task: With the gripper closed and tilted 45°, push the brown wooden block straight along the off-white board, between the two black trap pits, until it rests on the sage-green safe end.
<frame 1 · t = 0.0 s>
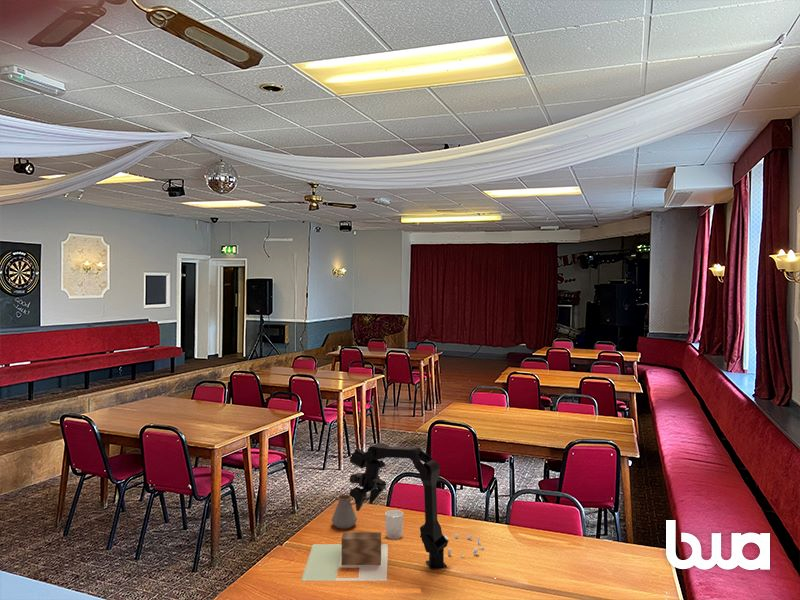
hand: (364, 507, 245), 15 cm above the table, tool pointing down, fingers open, 9 cm apart
trap board: (347, 565, 227), on the table
brown wooden block: (361, 561, 227), point 1 cm above the table, touching trap board
coffee pot: (354, 526, 263), on the table
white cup: (394, 536, 253), on the table
game piece set: (459, 548, 243), on the table
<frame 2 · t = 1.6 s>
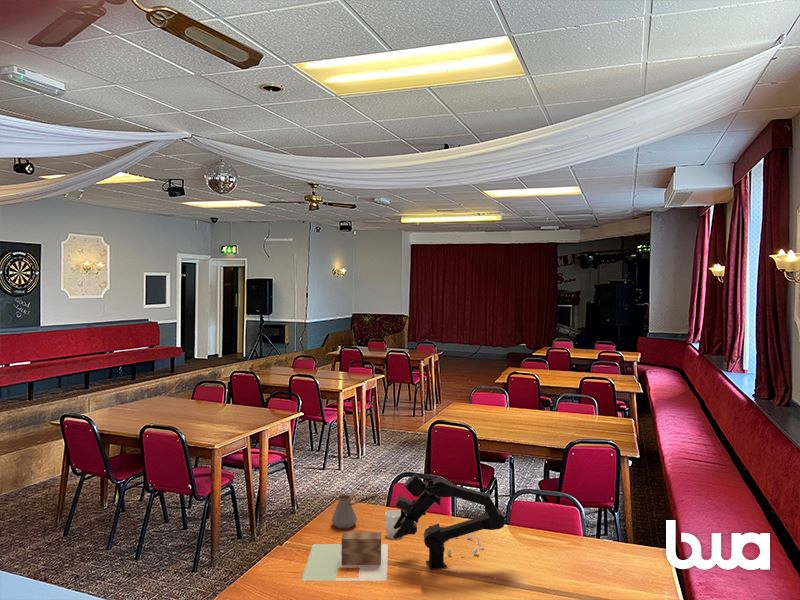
hand: (394, 533, 227), 12 cm above the table, tool tilted 45°, fingers open, 8 cm apart
nothing on the table moved.
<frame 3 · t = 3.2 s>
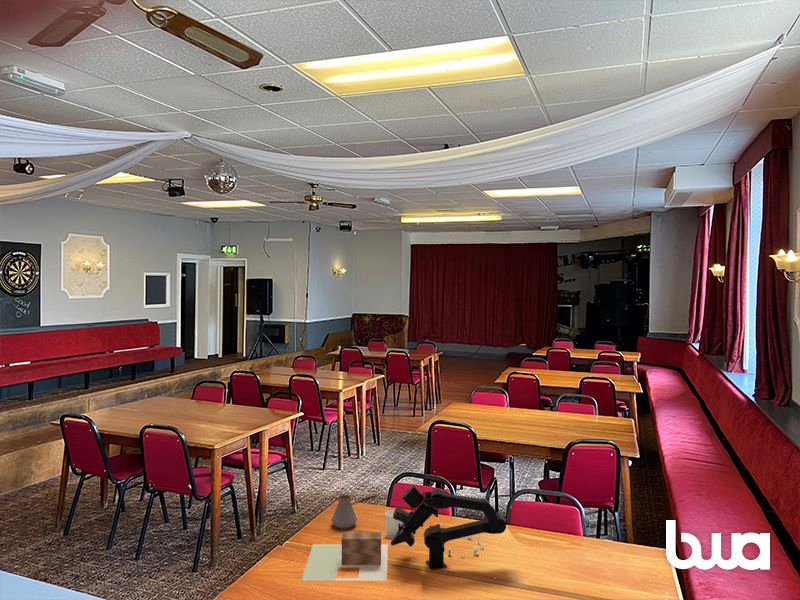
hand: (391, 544, 227), 8 cm above the table, tool tilted 45°, fingers closed
nothing on the table moved.
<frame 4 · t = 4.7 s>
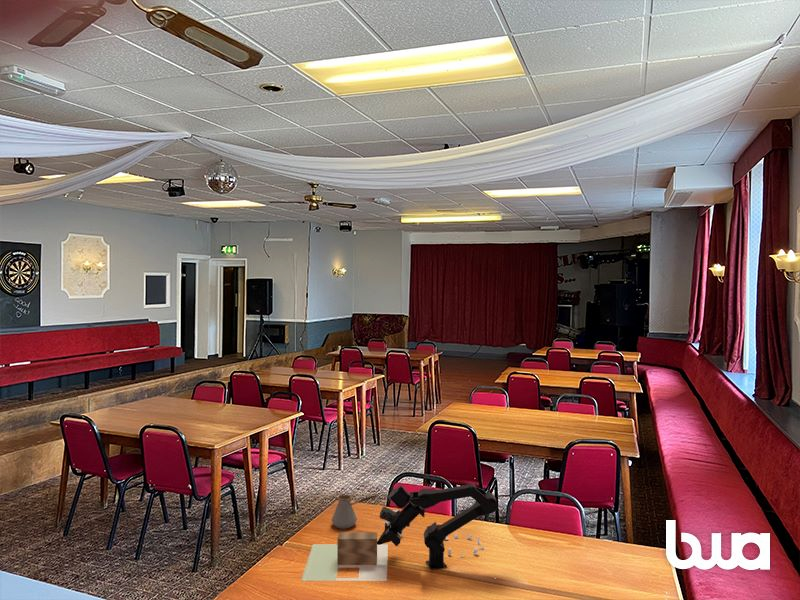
hand: (377, 543, 227), 8 cm above the table, tool tilted 45°, fingers closed
brown wooden block: (357, 561, 227), point 2 cm above the table, touching trap board
everything else where it was.
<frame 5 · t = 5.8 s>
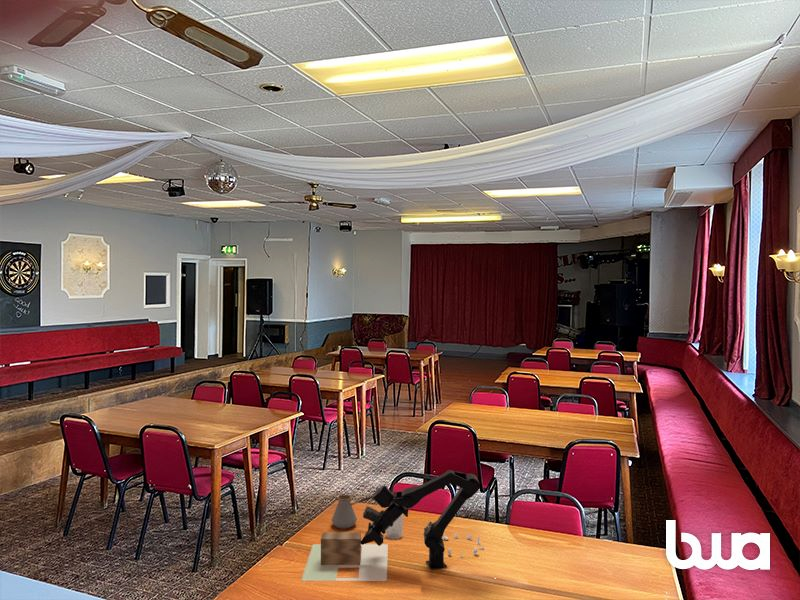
hand: (361, 543, 226), 8 cm above the table, tool tilted 45°, fingers closed, pressing on brown wooden block
brown wooden block: (341, 561, 227), point 2 cm above the table, touching gripper, trap board
everything else where it was.
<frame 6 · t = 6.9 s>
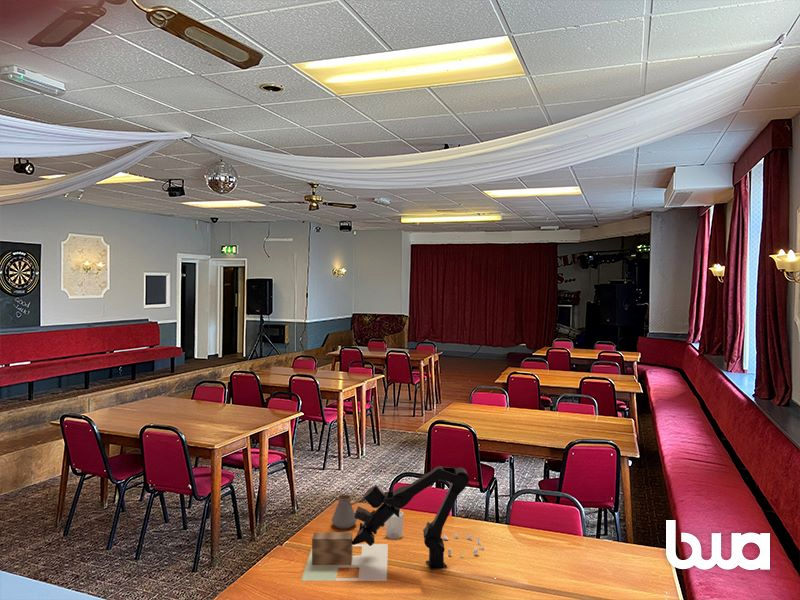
hand: (352, 543, 226), 8 cm above the table, tool tilted 45°, fingers closed, pressing on brown wooden block
brown wooden block: (332, 561, 227), point 1 cm above the table, touching gripper, trap board
everything else where it was.
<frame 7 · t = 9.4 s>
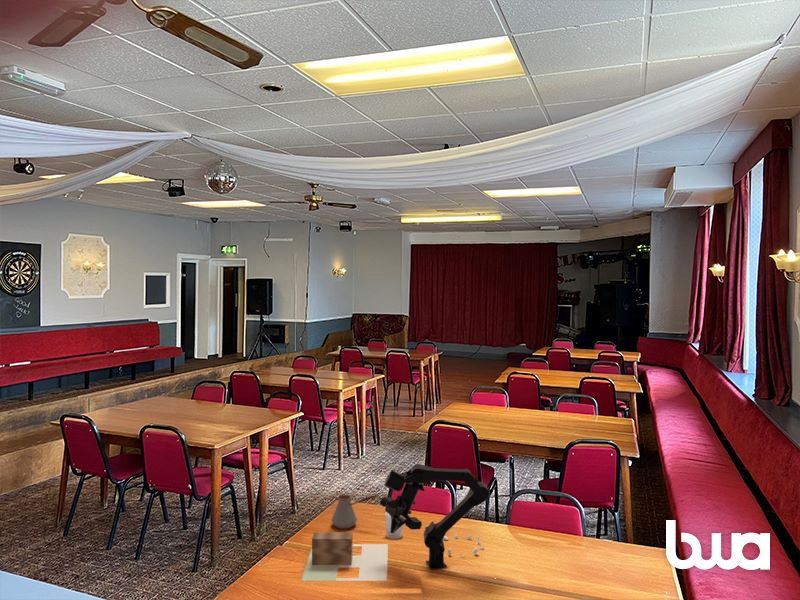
hand: (391, 532, 226), 13 cm above the table, tool tilted 25°, fingers closed
brown wooden block: (332, 561, 227), point 1 cm above the table, touching trap board
everything else where it was.
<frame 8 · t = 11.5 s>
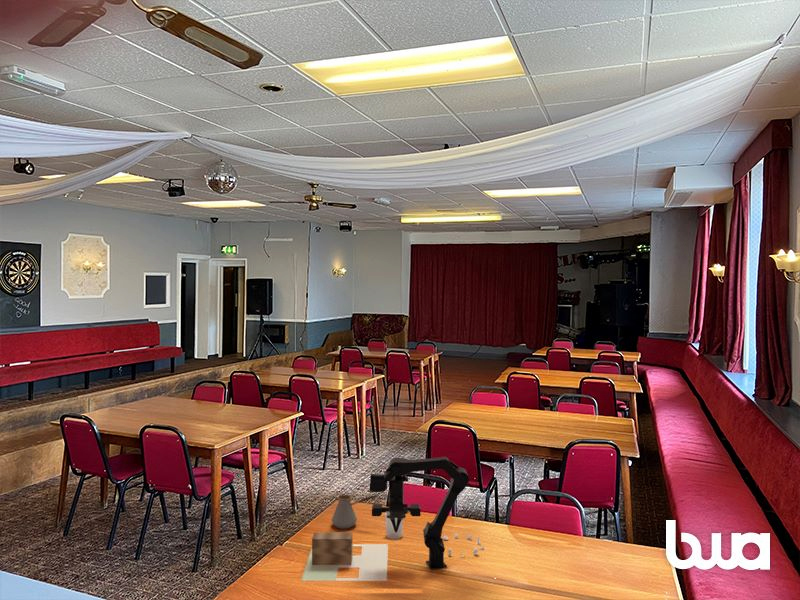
hand: (396, 531, 226), 13 cm above the table, tool pointing down, fingers closed
nothing on the table moved.
at the end: brown wooden block inside the target area (0.1 cm from its centre), point 1.5 cm above the table; brown wooden block tilted 0°; brown wooden block touching trap board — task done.
